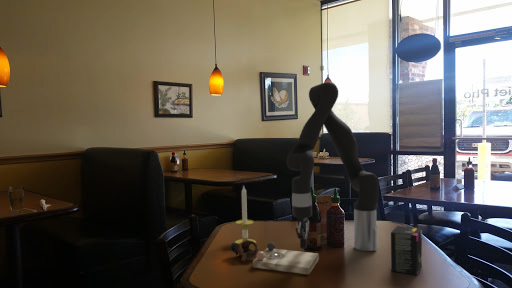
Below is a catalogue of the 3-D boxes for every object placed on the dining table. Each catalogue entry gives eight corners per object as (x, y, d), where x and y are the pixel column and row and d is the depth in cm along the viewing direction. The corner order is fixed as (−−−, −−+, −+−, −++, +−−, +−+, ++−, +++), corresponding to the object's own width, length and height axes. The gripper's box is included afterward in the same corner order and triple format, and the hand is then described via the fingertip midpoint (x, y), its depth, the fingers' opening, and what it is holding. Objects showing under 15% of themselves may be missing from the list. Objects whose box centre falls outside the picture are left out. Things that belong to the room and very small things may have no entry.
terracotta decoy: (266, 258, 152) (266, 250, 151) (263, 261, 149) (263, 253, 148) (258, 257, 153) (258, 249, 153) (255, 260, 150) (254, 252, 150)
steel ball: (281, 259, 156) (278, 251, 156) (278, 262, 153) (275, 254, 153) (274, 261, 157) (271, 253, 157) (270, 264, 154) (267, 256, 154)
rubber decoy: (276, 249, 163) (276, 241, 163) (273, 251, 160) (273, 243, 159) (268, 248, 164) (268, 240, 164) (266, 251, 161) (265, 242, 161)
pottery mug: (259, 254, 166) (261, 241, 161) (253, 271, 158) (255, 258, 153) (232, 246, 168) (234, 233, 163) (225, 263, 160) (227, 249, 155)
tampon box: (417, 276, 138) (417, 235, 137) (390, 271, 143) (390, 232, 142) (422, 266, 147) (422, 227, 146) (397, 261, 152) (397, 224, 151)
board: (318, 259, 157) (318, 253, 156) (308, 274, 142) (308, 267, 142) (267, 253, 165) (267, 248, 165) (253, 267, 150) (252, 260, 150)
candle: (251, 247, 174) (250, 187, 173) (231, 245, 178) (229, 186, 176) (259, 240, 184) (257, 183, 182) (239, 238, 187) (237, 183, 185)
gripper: (307, 208, 142) (309, 254, 144) (315, 200, 155) (316, 243, 156) (287, 207, 145) (289, 253, 146) (296, 200, 157) (298, 242, 159)
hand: (303, 247), depth 151 cm, fingers closed
